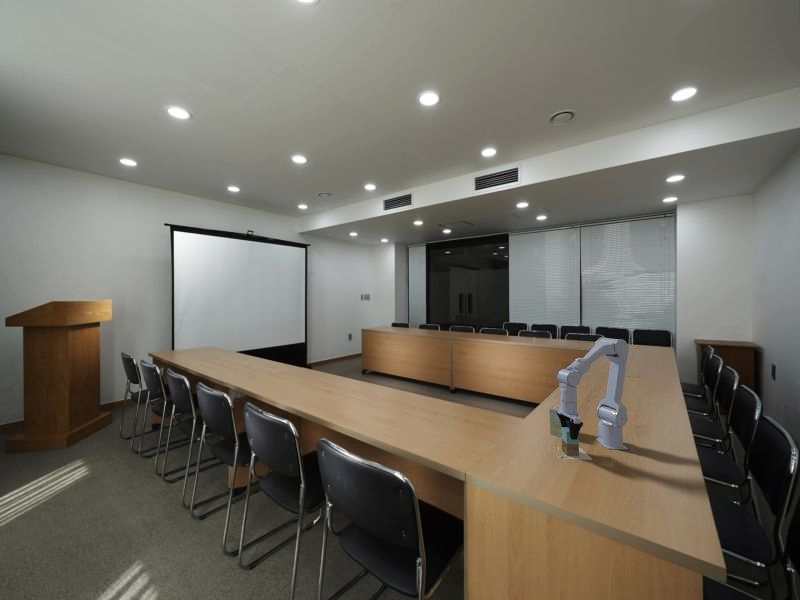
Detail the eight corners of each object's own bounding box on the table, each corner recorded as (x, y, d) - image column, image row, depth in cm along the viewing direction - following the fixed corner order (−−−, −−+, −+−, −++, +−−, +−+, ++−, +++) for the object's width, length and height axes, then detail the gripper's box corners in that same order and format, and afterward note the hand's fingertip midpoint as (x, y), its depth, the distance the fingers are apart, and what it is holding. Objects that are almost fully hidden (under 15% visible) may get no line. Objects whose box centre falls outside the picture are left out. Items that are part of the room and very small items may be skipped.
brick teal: (561, 438, 129) (561, 427, 129) (573, 438, 129) (573, 427, 129) (566, 443, 125) (566, 431, 125) (579, 444, 124) (578, 432, 124)
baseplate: (549, 447, 132) (549, 446, 132) (580, 448, 131) (580, 447, 131) (559, 459, 122) (559, 458, 122) (592, 460, 121) (592, 459, 121)
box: (558, 428, 152) (557, 403, 152) (571, 431, 148) (570, 405, 148) (549, 435, 145) (548, 408, 145) (562, 438, 141) (562, 411, 141)
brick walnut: (561, 450, 129) (561, 438, 129) (573, 450, 129) (573, 438, 129) (566, 455, 125) (566, 443, 125) (579, 456, 124) (578, 444, 124)
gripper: (551, 395, 134) (552, 427, 134) (565, 406, 120) (566, 443, 120) (568, 395, 134) (569, 428, 134) (585, 406, 119) (586, 443, 119)
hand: (569, 435), depth 127 cm, fingers open, 7 cm apart
